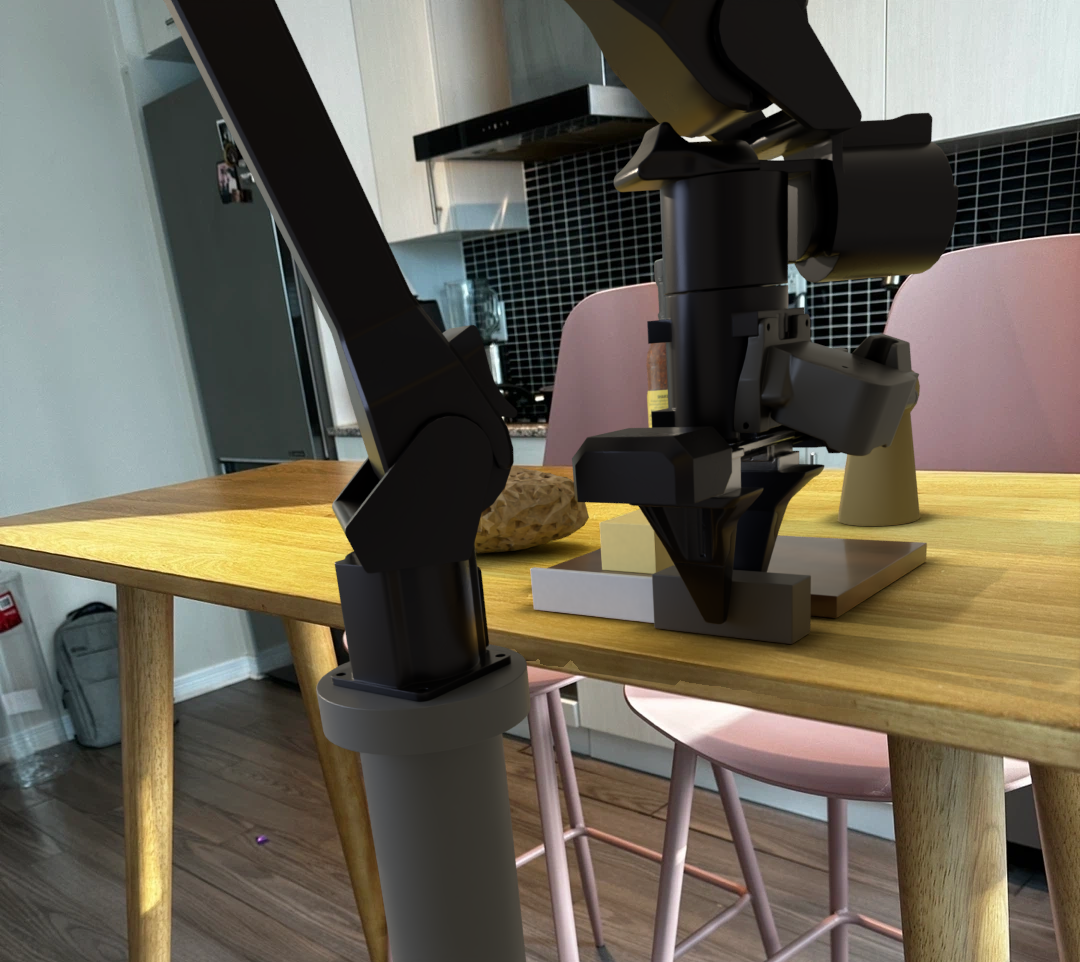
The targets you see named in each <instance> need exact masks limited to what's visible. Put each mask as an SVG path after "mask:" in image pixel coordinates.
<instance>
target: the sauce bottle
mask: <svg viewBox="0 0 1080 962" xmlns="http://www.w3.org/2000/svg"><path fill="white" fill-rule="evenodd" d="M653 267H654V268H653V271H654V282H655V284H656V287H657V300H658V313H657V320H665V306H664V297H666V296H672V295H664V280H663V258H660V259H656V260H655V261H654V264H653ZM675 295H680V294H675ZM645 362H646V363H645V364H646V373H647V374H646V375H647V392H646V405H647V421H648V422H647V423H648V428H652V418H651V412H652V411H657V410H662V409H667V408H668V384H667V358H666V342H665V343H652V344H649V348H648V351H647V353H646V361H645Z"/></svg>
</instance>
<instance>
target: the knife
mask: <svg viewBox="0 0 1080 962" xmlns="http://www.w3.org/2000/svg"><path fill="white" fill-rule="evenodd" d="M529 571H530V572H529V573H530V582H531V594H532V603H533V610H536V611H544V612H554V613H562V614H571V615H579V616H588V617H597V618H604V619H605V618H606V619H615V620H624V621H633V622H641V623H650V624H653V626H654V629H659V630H666V631H676V632H684V633H692V634H700V635H709V636H717V637H718V636H719V637H727V638H736V639H743V640H753V641H761V642H767V643H768V642H769V643H779V644H788V645H793V644H795V643H796V642H798V641H799V640H801V639H803V638H804V637H806V636H808V635H809V634H811V623H812V621H811V617H812V616H811V576H810V575H798V574H784V573H771V572H757V571H743V570H733V575H732V586H731V596H730V603H729V609H728V616H727V620H726V622H724V623H723V624H712V623H707V622H705V621H704V619H703V617H702V615H701V614H700V612H699V610H698V608H697V606H696V604H695V602H694V601H693V599H692V597H691V595H690V593H689V591H688V589H687V587H686V586H685V584H684V582H683V580H682V578H681V576H680V574H679V572H678V571H677V569H676V567H675V565H673V566H671V567H668V568H666V569H663V570H661V571H659V572H656V573H654V574H652V577H647V576H634V575H622V574H610V573H598V572H586V571H573V570H561V569H549V568H548V567H536V566H534V567H531V568H530V569H529Z"/></svg>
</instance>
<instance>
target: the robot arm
mask: <svg viewBox="0 0 1080 962" xmlns="http://www.w3.org/2000/svg"><path fill="white" fill-rule="evenodd" d="M563 1H564V2H565V3H566V4H567V5H568V6H569V7H570V8H571V9H572V11H574V13H575V14H576V15H577V16H578V17H579V18H580V19H581V21H582V22H583V23H584V25H585V26H586V27H587V28H588V30H589V31H590V33H591V35H592V37H593V39H594V40H595V43H596V44H597V46H598V47H599V50H600V51H601V53H602V55H603V57H604V58H605V60H606V62H607V64H608V66H609V67H610V69H611V70H612V72H613V73H614V74H615V75H616V77H617V78H618V79H619V80H620V81H621V82H622V83H623V85H625V87H627V89H628V90H629V92H631V94H632V95H633V96H634V97H635V98H636V99H637V100H638V101H639V102H640V104H641V105H642V106H643V107H644V108H645V110H646V111H647V112H648V113H649V114H650V115H651V116H652V117H653V118H654V120H655V121H656V122H657V123H658V124H657V125H655V126H653V127H651V128H650V129H648V130H647V131H646V132H645V133H644V135H643V138H642V141H641V143H640V145H639V147H638V148H637V150H636V152H635V153H634V154H633V156H632V157H631V158H630V160H629V161H628V162H627V164H626V165H625V166H624V167H623V168H622V169H621V170H620V171H619V172H618V173H617V174H616V175H615V176H614V179H613V186H614V188H615V190H616V191H618V192H620V193H629V192H642V191H643V192H645V191H659V198H660V200H659V201H660V202H659V203H660V223H661V224H660V225H661V250H662V259H663V280H664V295H672V296H666V297H664V306H665V320H659V319H657V320H647V321H646V322H647V323H646V324H647V326H646V327H647V345H651V344H652V343H665V342H666V358H667V384H668V408H667V409H662V410H657V411H652V412H651V418H652V428H649V427H628V428H622V429H619V430H614V431H609V432H604V433H600V434H595V435H591V436H587V437H586V438H585V439H584V441H583V442H582V444H581V445H580V446H579V448H578V449H577V450H576V452H575V453H574V455H573V456H572V458H571V464H572V465H571V466H572V479H573V480H572V481H573V482H574V494H575V500H576V501H577V502H585V503H592V504H619V505H620V504H621V505H629V506H632V507H638V508H639V509H640V510H641V511H642V513H643V514H644V516H645V517H646V519H647V521H648V522H649V524H650V525H651V527H652V528H653V530H654V532H655V533H656V535H657V536H658V538H659V539H660V541H661V542H662V544H663V546H664V547H665V549H666V551H667V552H668V554H669V556H670V558H671V560H672V562H673V563H674V565H675V567H676V569H677V571H678V572H679V574H680V576H681V578H682V580H683V582H684V584H685V586H686V587H687V589H688V591H689V593H690V595H691V597H692V599H693V601H694V602H695V604H696V606H697V608H698V610H699V612H700V614H701V615H702V617H703V619H704V621H705V622H707V623H712V624H723V623H724V622H726V620H727V616H728V609H729V603H730V596H731V586H732V575H733V570H743V571H757V572H767V570H768V567H769V563H770V560H771V556H772V553H773V549H774V546H775V542H776V539H777V536H778V535H779V531H780V529H781V526H782V523H783V520H784V518H785V515H786V514H785V513H786V511H787V508H788V505H789V504H790V502H791V500H792V499H793V497H795V495H797V494H798V493H799V492H800V491H801V490H803V488H805V486H806V485H807V484H809V482H811V481H812V480H813V479H814V478H816V477H818V476H819V475H821V473H822V472H823V471H824V469H825V464H822V463H821V464H820V463H800V450H794V449H809V448H810V449H811V448H812V449H813V448H814V449H817V448H825V449H826V451H827V453H828V454H845V455H847V454H848V455H853V456H865V455H868V454H870V452H871V451H872V450H873V449H874V448H877V447H880V446H882V447H884V448H887V447H889V446H891V444H892V441H893V439H894V436H895V434H896V431H897V428H898V426H899V423H900V421H901V418H902V415H903V413H904V410H905V409H907V408H911V407H913V406H914V405H915V404H916V403H917V404H918V401H919V398H918V392H917V391H916V389H915V386H916V382H917V379H918V380H919V376H920V373H918V372H916V371H914V372H912V370H913V369H912V358H911V357H912V355H911V344H910V342H909V341H906V340H903V339H900V338H898V337H894V336H891V335H888V334H885V333H880V334H873V335H868V336H867V337H866V338H865V339H864V340H863V341H862V342H861V343H860V344H859V345H858V346H857V347H856V348H855V349H854V351H852V353H851V352H849V350H848V349H847V348H844V347H836V348H833V347H829V346H825V345H822V344H819V343H816V342H813V341H812V340H811V317H810V315H809V314H808V313H805V312H806V311H805V306H801V307H789V265H792V264H794V266H795V268H796V270H797V271H798V274H799V275H800V277H802V278H803V279H804V280H805V281H807V282H810V283H814V284H815V283H827V282H840V281H850V280H852V281H853V280H862V279H875V278H886V277H898V276H900V277H901V276H910V275H911V276H912V275H919V274H923V273H925V272H927V271H928V270H930V269H931V268H932V267H934V266H935V265H936V264H937V263H938V261H940V259H941V257H942V256H943V254H944V253H945V251H946V249H947V248H948V244H949V242H950V241H951V238H952V235H953V231H954V228H955V224H956V221H957V213H958V205H959V187H958V185H957V184H955V183H954V175H953V170H952V167H951V164H950V161H949V159H948V157H947V155H946V153H945V152H944V150H943V148H941V146H938V144H936V143H935V142H933V141H932V140H933V139H932V137H933V136H932V135H933V116H932V115H931V113H930V112H914V113H905V114H902V115H900V116H897V117H894V118H890V119H874V120H873V119H872V120H862V119H863V116H862V115H863V114H862V111H861V109H860V107H859V106H858V103H857V102H856V100H855V98H854V97H853V95H852V93H851V91H849V88H848V87H847V85H846V83H845V81H844V80H843V79H842V76H841V75H840V73H839V72H838V70H837V68H836V66H835V65H834V63H833V61H832V59H831V58H830V56H829V54H828V53H827V51H826V50H825V48H824V45H823V44H822V42H821V41H820V39H819V37H818V35H817V34H816V33H815V31H814V29H813V27H812V25H811V24H810V22H809V14H808V5H809V2H810V1H809V0H563ZM163 2H164V4H165V6H166V8H167V10H168V12H169V14H170V16H171V18H172V21H173V22H174V24H175V26H176V28H177V30H178V32H179V34H180V35H181V38H182V39H183V43H184V44H185V46H186V47H187V50H188V52H189V53H190V56H191V57H192V59H193V61H194V63H195V65H196V67H197V69H198V71H199V74H200V75H201V77H202V79H203V82H204V83H205V85H206V88H207V89H208V91H209V94H210V95H211V97H212V99H213V101H214V103H215V105H216V107H217V109H218V111H219V113H220V115H221V117H222V119H223V121H224V123H225V125H226V127H227V129H228V131H229V133H230V135H231V136H232V139H233V141H234V142H235V144H236V147H237V149H238V150H239V151H238V152H239V153H240V155H241V156H242V159H243V160H244V162H245V164H246V166H247V168H248V170H249V172H250V175H251V177H252V178H253V181H254V182H255V184H256V186H257V188H258V190H259V192H260V194H261V196H262V198H263V200H264V202H265V204H266V206H267V208H268V210H269V212H270V214H271V216H272V218H273V220H274V222H275V224H276V226H277V228H278V230H279V231H280V234H281V235H282V238H283V239H284V241H285V244H286V246H287V247H288V250H289V252H290V253H291V255H292V257H293V259H294V261H295V263H296V265H297V267H298V269H299V271H300V273H301V275H302V278H303V279H304V282H305V283H306V285H307V288H308V289H309V291H310V293H311V295H312V297H313V299H314V302H315V303H316V305H317V307H318V309H319V311H320V313H321V315H322V317H323V319H324V321H325V324H326V326H328V329H329V331H330V333H331V336H332V340H333V342H334V346H335V350H336V353H337V357H338V360H339V363H340V367H341V371H342V374H343V375H342V376H343V378H344V381H345V385H346V390H347V393H348V396H349V401H350V403H351V406H352V407H351V408H352V410H353V414H354V416H355V419H356V423H357V426H358V429H359V432H360V435H361V438H362V442H363V445H364V449H365V451H366V454H367V458H366V459H365V460H364V461H363V463H362V464H361V465H360V466H359V468H358V469H357V470H356V472H355V473H354V474H353V476H352V477H351V478H350V480H349V481H348V482H347V483H346V485H345V486H344V488H343V489H342V490H341V491H340V492H339V494H338V495H337V496H336V498H335V499H334V500H333V502H332V503H331V509H332V512H333V514H334V516H335V518H336V520H337V522H338V523H339V526H340V527H341V529H342V531H343V533H344V536H345V537H346V539H347V541H348V543H349V545H350V547H351V549H352V550H353V551H351V552H349V553H347V554H346V555H345V556H344V559H340V560H337V561H335V562H334V569H335V576H336V582H337V588H338V595H339V600H340V607H341V614H342V621H343V627H344V632H345V633H344V634H345V639H346V645H347V651H348V652H347V653H348V658H349V659H348V660H349V661H350V665H351V667H349V668H346V669H344V670H341V671H338V672H336V673H334V674H332V675H331V681H332V685H335V686H340V687H345V688H350V689H355V690H360V691H365V692H370V693H375V694H380V695H385V696H390V697H395V698H401V699H406V700H411V701H416V702H425V701H429V700H432V699H434V698H437V697H439V696H441V695H443V694H445V693H448V692H450V691H452V690H454V689H456V688H459V687H461V686H463V685H465V684H467V683H470V682H472V681H474V680H476V679H478V678H481V677H483V676H485V675H487V674H489V673H492V672H494V671H496V670H498V669H500V668H503V667H505V666H507V665H509V664H511V655H510V654H509V653H505V652H498V651H491V650H486V647H488V646H489V644H490V638H489V630H488V629H489V628H488V619H487V611H486V602H485V591H484V582H483V572H482V568H481V567H480V566H478V562H477V561H478V560H477V553H476V550H475V539H476V534H477V530H478V526H479V522H480V518H481V514H482V512H483V511H485V510H486V509H487V508H489V507H490V506H491V505H493V503H494V502H495V501H496V499H497V498H498V497H499V495H500V494H501V492H502V491H503V490H504V488H505V486H506V483H507V480H508V477H509V474H510V471H511V467H512V466H514V462H515V460H514V459H515V458H514V454H515V453H514V445H513V441H512V438H511V434H510V431H509V427H508V425H507V424H506V422H505V420H504V418H509V419H510V418H511V419H515V418H517V416H518V410H517V408H516V407H514V405H512V404H511V402H509V401H508V399H506V397H504V395H503V394H502V392H501V390H500V389H499V387H498V385H497V384H496V382H495V379H494V376H493V373H492V371H491V367H490V364H489V360H488V356H487V352H486V348H485V345H484V342H483V339H482V336H481V334H480V331H479V328H478V326H476V325H475V324H468V325H462V326H457V327H450V328H447V329H446V330H445V331H443V332H442V331H441V330H440V329H439V327H438V326H437V325H436V323H435V322H434V321H433V320H432V319H431V317H430V316H429V314H428V313H427V312H426V310H425V309H424V308H423V307H422V306H421V304H420V303H419V302H418V300H417V299H416V297H415V296H414V295H413V292H412V291H411V289H410V287H409V285H408V282H407V280H406V278H405V276H404V274H403V272H402V270H401V268H400V265H399V263H398V261H397V259H396V257H395V255H394V252H393V251H392V248H391V245H390V244H389V242H388V240H387V237H386V236H385V235H386V234H385V233H384V231H383V229H382V227H381V225H380V222H379V220H378V218H377V216H376V213H375V211H374V209H373V208H372V205H371V203H370V201H369V198H368V197H367V195H366V193H365V190H364V188H363V186H362V183H361V182H360V179H359V176H358V175H357V173H356V170H355V169H354V167H353V164H352V162H351V160H350V158H349V156H348V153H347V152H346V149H345V147H344V145H343V143H342V141H341V139H340V137H339V134H338V131H337V130H336V127H335V126H334V123H333V121H332V119H331V117H330V115H329V113H328V111H327V108H326V106H325V104H324V102H323V99H322V97H321V96H320V93H319V91H318V89H317V87H316V85H315V82H314V81H313V79H312V76H311V73H310V72H309V70H308V67H307V65H306V63H305V61H304V59H303V57H302V55H301V53H300V51H299V48H298V46H297V43H296V42H295V40H294V37H293V35H292V33H291V31H290V29H289V27H288V24H287V23H286V20H285V18H284V16H283V13H282V12H281V9H280V7H279V5H278V2H277V1H276V0H163ZM772 105H775V106H776V107H777V108H779V109H780V110H779V111H776V112H775V113H773V114H771V115H768V116H766V114H764V112H763V111H764V110H766V109H768V108H769V107H771V106H772ZM701 137H706V138H707V139H708V140H704V141H701V140H700V141H688V140H686V138H689V139H695V138H701ZM780 157H783V159H778V160H777V158H780ZM775 159H776V160H775ZM675 294H680V295H675ZM917 404H916V405H917ZM916 405H915V406H916Z"/></svg>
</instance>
